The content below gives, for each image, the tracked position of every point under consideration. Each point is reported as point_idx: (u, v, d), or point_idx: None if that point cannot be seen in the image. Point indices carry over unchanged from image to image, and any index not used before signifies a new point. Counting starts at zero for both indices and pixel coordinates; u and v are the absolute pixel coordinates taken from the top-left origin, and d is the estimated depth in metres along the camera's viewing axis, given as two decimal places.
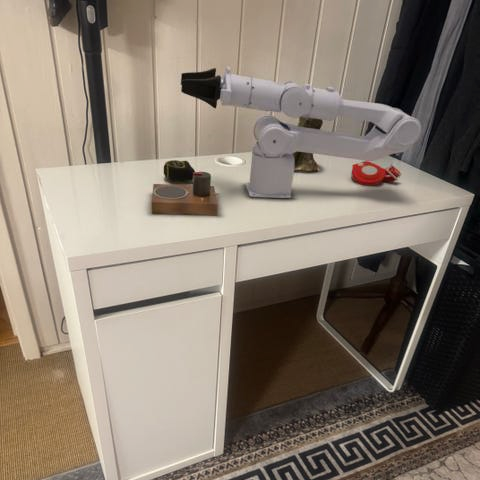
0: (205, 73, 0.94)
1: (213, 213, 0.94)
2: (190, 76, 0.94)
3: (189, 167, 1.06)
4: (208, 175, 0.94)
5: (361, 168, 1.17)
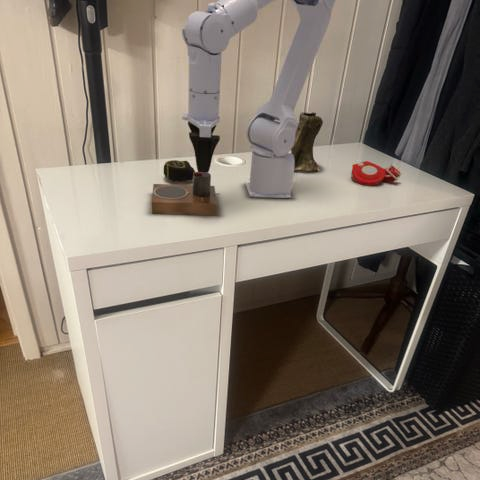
0: None
1: (213, 213, 0.94)
2: None
3: (189, 167, 1.06)
4: (208, 175, 0.94)
5: (361, 168, 1.17)
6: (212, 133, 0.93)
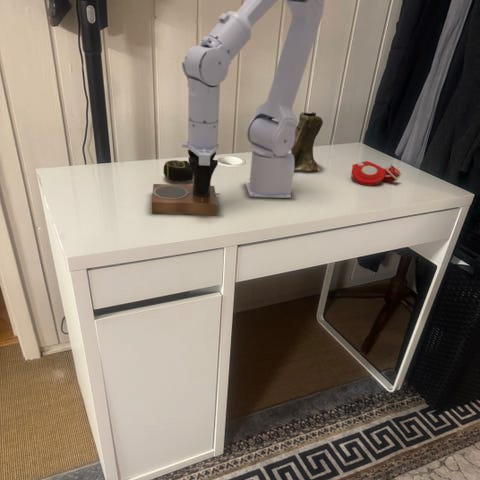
0: None
1: (213, 213, 0.94)
2: None
3: (189, 167, 1.06)
4: None
5: (361, 168, 1.17)
6: None
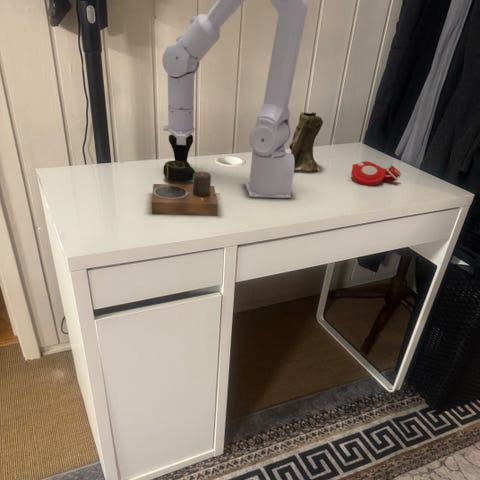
0: None
1: (213, 213, 0.94)
2: None
3: (189, 167, 1.06)
4: (203, 172, 0.95)
5: (361, 168, 1.17)
6: None
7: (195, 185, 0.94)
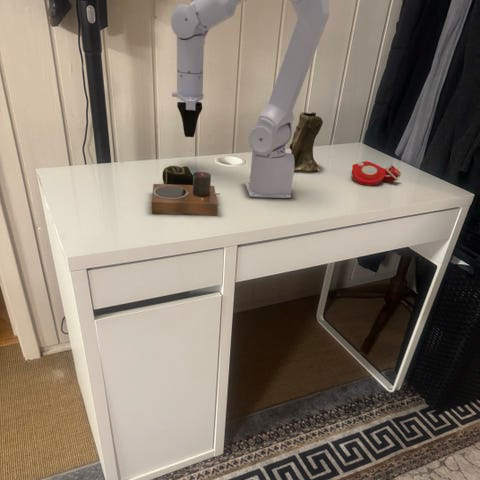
0: None
1: (213, 213, 0.94)
2: None
3: (188, 173, 1.03)
4: (203, 172, 0.95)
5: (361, 168, 1.17)
6: None
7: (195, 185, 0.94)
